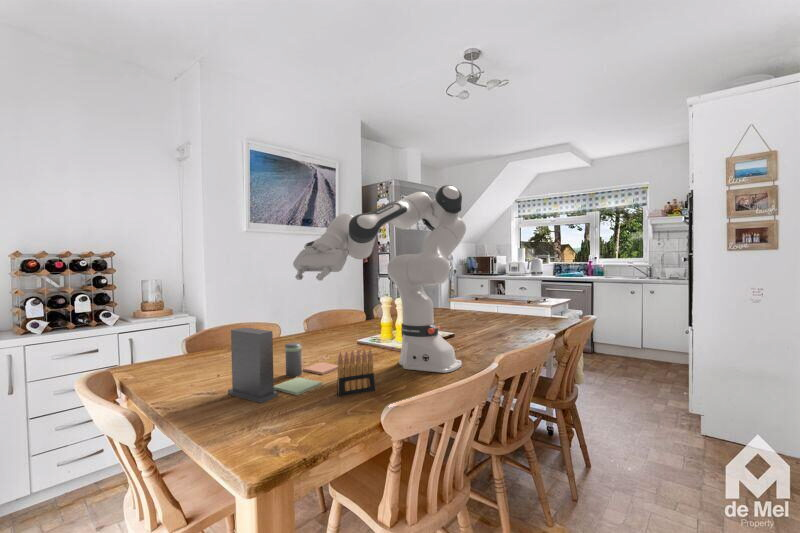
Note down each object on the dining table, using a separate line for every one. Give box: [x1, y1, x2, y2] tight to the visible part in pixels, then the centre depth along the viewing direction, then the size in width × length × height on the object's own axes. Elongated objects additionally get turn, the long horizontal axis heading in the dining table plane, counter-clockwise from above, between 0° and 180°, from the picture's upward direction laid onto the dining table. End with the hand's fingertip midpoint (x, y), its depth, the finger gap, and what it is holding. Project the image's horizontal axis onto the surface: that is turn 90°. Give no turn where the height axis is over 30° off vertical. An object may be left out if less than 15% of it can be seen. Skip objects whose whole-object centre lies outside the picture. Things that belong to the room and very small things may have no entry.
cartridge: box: [284, 342, 303, 378], centre depth 127 cm, size 5×5×10 cm
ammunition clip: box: [336, 348, 376, 397], centre depth 110 cm, size 11×2×12 cm, turn 115°
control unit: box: [227, 327, 280, 404], centre depth 108 cm, size 14×6×18 cm, turn 59°
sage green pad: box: [274, 376, 323, 396], centre depth 115 cm, size 10×10×1 cm
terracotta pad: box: [302, 361, 338, 376], centre depth 133 cm, size 9×9×1 cm
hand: (308, 279), depth 127 cm, fingers open, 8 cm apart
